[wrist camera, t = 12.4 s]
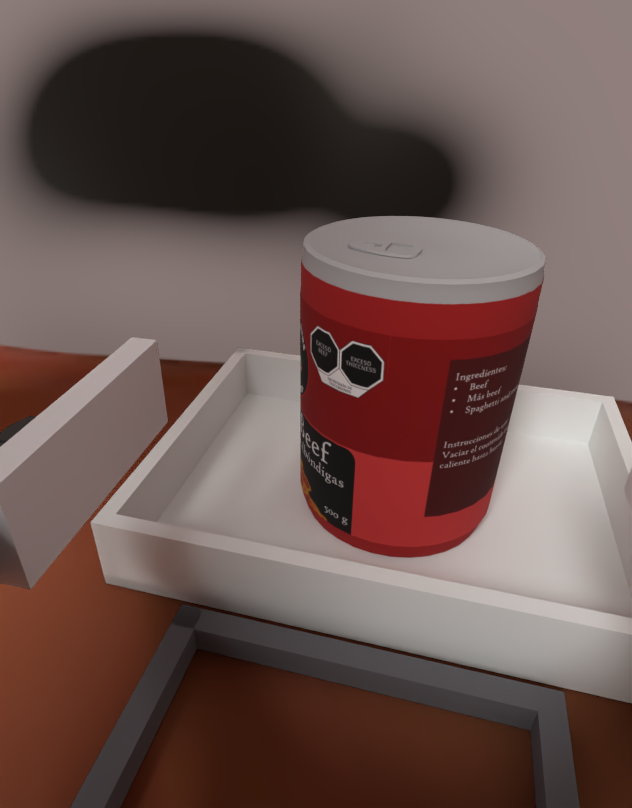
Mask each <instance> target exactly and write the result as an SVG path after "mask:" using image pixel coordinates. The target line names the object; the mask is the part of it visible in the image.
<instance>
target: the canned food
mask: <svg viewBox="0 0 632 808" xmlns="http://www.w3.org/2000/svg"><path fill="white" fill-rule="evenodd" d="M545 261H546V258H545V255H544V253H543V252H542V251H541V250H540V249H539V248H538V247H537V246H536V245H534V244H532V243H530V242H529V241H527V240H525V239H523V238H522V237H519V236H517V235H514V234H511V233H509V232H506V231H503V230H499V229H496V228H492V227H488V226H483V225H479V224H475V223H469V222H463V221H457V220H448V219H441V218H429V217H412V216H379V217H363V218H356V219H348V220H343V221H338V222H334V223H331V224H328V225H325V226H322V227H319V228H317V229H315V230H313V231H312V232H310V233H309V234H308V235H307V236H306V237H305V238H304V243H303V254H302V260H301V292H300V301H301V302H300V303H301V304H300V309H301V310H300V314H301V315H300V317H301V319H300V338H301V339H300V341H301V342H300V345H301V348H300V349H301V351H300V482H301V486H302V490H303V494H304V496H305V499H306V502H307V504H308V507H309V509H310V510H311V512H312V514H313V516H314V518H315V519H316V520H317V521H318V522H319V523H320V524H321V525H322V527H323V528H324V529H325V530H327V531H328V532H329V533H331V534H332V535H333V536H335V537H336V538H337V539H339V540H341V541H343V542H345V543H347V544H349V545H351V546H353V547H356V548H359V549H361V550H364V551H367V552H370V553H374V554H380V555H385V556H390V557H407V558H411V557H422V556H430V555H434V554H438V553H441V552H445V551H447V550H449V549H451V548H454V547H456V546H458V545H460V544H461V543H462V542H463V541H465V540H466V539H467V538H468V537H470V535H471V534H472V533H473V531H474V530H475V529H476V527H477V526H478V525H479V523H480V522H481V520H482V519H483V518H484V516H485V515H486V513H487V510H488V507H489V503H490V499H491V495H492V491H493V487H494V483H495V479H496V475H497V471H498V467H499V463H500V459H501V455H502V451H503V446H504V442H505V438H506V434H507V430H508V426H509V422H510V418H511V414H512V410H513V406H514V402H515V398H516V393H517V389H518V385H519V381H520V377H521V373H522V369H523V365H524V361H525V357H526V352H527V349H528V344H529V340H530V336H531V332H532V328H533V323H534V320H535V316H536V312H537V307H538V300H539V296H540V292H541V288H542V284H543V279H544V265H545Z"/></svg>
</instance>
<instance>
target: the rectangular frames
mask: <svg viewBox="0 0 632 808" xmlns="http://www.w3.org/2000/svg"><path fill="white" fill-rule="evenodd" d="M196 649H200V650H204V651H208V652H212V653H216V654H220V655H225V656H229V657H233V658H237V659H241V660H245V661H249V662H253V663H257V664H261V665H265V666H269V667H273V668H277V669H282V670H286V671H290V672H294V673H298V674H302V675H306V676H310V677H314V678H318V679H322V680H326V681H330V682H334V683H339V684H343V685H347V686H351V687H355V688H359V689H363V690H367V691H371V692H375V693H379V694H383V695H387V696H391V697H396V698H400V699H404V700H408V701H412V702H416V703H420V704H424V705H428V706H432V707H436V708H440V709H444V710H448V711H453V712H457V713H461V714H465V715H469V716H473V717H477V718H481V719H485V720H489V721H493V722H497V723H501V724H505V725H510V726H514V727H518V728H522V729H526V730H530V734H531V748H532V761H533V774H534V787H535V800H536V808H580V805H579V798H578V790H577V783H576V775H575V768H574V761H573V753H572V746H571V738H570V731H569V723H568V716H567V708H566V701H565V694H564V692H562V691H558V690H554V689H549V688H545V687H541V686H536V685H532V684H528V683H523V682H519V681H515V680H510V679H506V678H502V677H497V676H493V675H489V674H484V673H480V672H476V671H471V670H467V669H463V668H458V667H454V666H450V665H445V664H441V663H437V662H432V661H428V660H424V659H419V658H415V657H411V656H406V655H402V654H397V653H393V652H389V651H384V650H380V649H376V648H371V647H367V646H363V645H358V644H354V643H350V642H345V641H341V640H337V639H332V638H328V637H324V636H319V635H315V634H311V633H306V632H302V631H298V630H293V629H289V628H285V627H280V626H276V625H272V624H267V623H263V622H259V621H254V620H250V619H246V618H241V617H237V616H232V615H228V614H224V613H219V612H215V611H211V610H206V609H202V608H198V607H193V606H189V605H185V604H182V605H181V606H180V608H179V610H178V612H177V614H176V616H175V617H174V619H173V621H172V623H171V625H170V626H169V628H168V630H167V632H166V634H165V636H164V637H163V639H162V641H161V643H160V645H159V647H158V648H157V650H156V652H155V654H154V656H153V657H152V659H151V661H150V663H149V665H148V667H147V668H146V670H145V672H144V674H143V676H142V677H141V679H140V681H139V683H138V685H137V687H136V688H135V690H134V692H133V694H132V696H131V697H130V699H129V701H128V703H127V705H126V707H125V708H124V710H123V712H122V714H121V716H120V717H119V719H118V721H117V723H116V725H115V727H114V728H113V730H112V732H111V734H110V736H109V738H108V739H107V741H106V743H105V745H104V747H103V748H102V750H101V752H100V754H99V756H98V758H97V759H96V761H95V763H94V765H93V767H92V768H91V770H90V772H89V774H88V776H87V778H86V779H85V781H84V783H83V785H82V787H81V788H80V790H79V792H78V794H77V796H76V798H75V799H74V801H73V803H72V805H71V807H70V808H120V807H121V805H122V803H123V801H124V799H125V797H126V795H127V793H128V791H129V789H130V786H131V784H132V782H133V780H134V778H135V776H136V774H137V772H138V770H139V768H140V766H141V764H142V762H143V759H144V757H145V755H146V753H147V751H148V749H149V747H150V745H151V743H152V741H153V739H154V737H155V735H156V732H157V730H158V728H159V726H160V724H161V722H162V720H163V718H164V716H165V714H166V712H167V710H168V708H169V705H170V703H171V701H172V699H173V697H174V695H175V693H176V691H177V689H178V687H179V685H180V683H181V681H182V679H183V676H184V674H185V672H186V670H187V668H188V666H189V664H190V662H191V660H192V658H193V656H194V654H195V652H196Z"/></svg>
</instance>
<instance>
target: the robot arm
mask: <svg viewBox="0 0 632 808" xmlns="http://www.w3.org/2000/svg"><path fill="white" fill-rule="evenodd" d="M167 422H168V418H167V410H166V403H165V396H164V388H163V381H162V374H161V367H160V359H159V352H158V345H157V340H151V339H142V338H134V337H132V338H130V339H129V340H128V341H127V342H126V343H124V344H123V345H122V346H121V347H120V348H118V349H117V350H116V351H115V352H114V353H112V354H111V355H110V356H109V357H108V358H106V359H105V360H104V361H103V362H102V363H100V364H99V365H98V366H97V367H96V368H94V369H93V370H92V371H91V372H90V373H88V374H87V375H86V376H85V377H84V378H82V379H81V380H80V381H79V382H78V383H76V384H75V385H74V386H73V387H72V388H70V389H69V390H68V391H67V392H66V393H64V394H63V395H62V396H61V397H60V398H58V399H57V400H56V401H55V402H54V403H52V404H51V405H50V406H49V407H48V408H46V409H45V410H44V411H43V412H42V413H40V414H39V415H38V416H37V417H33V416H29V417H27V418H25V419H23V420H21V421H19V422H16V423H14V424H12V425H10V426H8V427H7V428H6V429H5V430H3V431H2V432H1V433H0V583H2V584H7V585H11V586H16V587H21V588H25V589H30V590H31V589H32V587H33V586H34V585H35V584H36V583H37V581H38V580H39V579H40V578H41V576H42V575H43V574H44V573H45V572H46V570H47V569H48V568H49V567H50V565H51V564H52V563H53V562H54V561H55V559H56V558H57V557H58V556H59V554H60V553H61V552H62V551H63V550H64V548H65V547H66V546H67V545H68V543H69V542H70V541H71V540H72V539H73V537H74V536H75V535H76V534H77V532H78V531H79V530H80V529H81V528H82V526H83V525H84V524H85V523H86V521H87V520H88V519H89V518H90V517H91V515H92V514H93V513H94V512H95V510H96V509H97V508H98V507H99V506H100V504H101V503H102V502H103V501H104V499H105V498H106V497H107V496H108V495H109V493H110V492H111V491H112V490H113V488H114V487H115V486H116V485H117V483H118V482H119V481H120V480H121V479H122V477H123V476H124V475H125V474H126V472H127V471H128V470H129V469H130V468H131V466H132V465H133V464H134V463H135V461H136V460H137V459H138V458H139V457H140V455H141V454H142V453H143V452H144V450H145V449H146V448H147V447H148V446H149V444H150V443H151V442H152V441H153V439H154V438H155V437H156V436H157V435H158V433H159V432H160V431H161V430H162V428H163V427H164V426H165V425H166V424H167ZM624 491H625V494H626V497H627V499H628V502H629V505H630V507H631V510H632V468H631V471H630V473H629V476H628V478H627V481H626V484H625V486H624Z"/></svg>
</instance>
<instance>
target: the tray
mask: <svg viewBox="0 0 632 808" xmlns="http://www.w3.org/2000/svg"><path fill="white" fill-rule="evenodd" d="M631 468H632V442H631V440H630V437H629V435H628V432H627V430H626V427H625V425H624V422H623V420H622V417H621V415H620V412H619V410H618V407H617V405H616V402H615V400H614V397H610V396H602V395H594V394H587V393H579V392H572V391H563V390H557V389H549V388H541V387H534V386H526V385H518V389H517V393H516V398H515V402H514V406H513V410H512V414H511V418H510V422H509V426H508V430H507V434H506V438H505V442H504V446H503V451H502V455H501V459H500V463H499V467H498V471H497V475H496V479H495V483H494V487H493V491H492V495H491V499H490V503H489V507H488V510H487V513H486V515H485V516H484V518H483V519H482V520H481V522H480V523H479V525H478V526H477V527H476V529H475V530H474V531H473V533H472V534H471V535H470V537H468V538H467V539H466V540H465V541H463V542H462V543H461V544H460V545H458V546H456V547H454V548H451V549H449V550H447V551H445V552H441V553H438V554H434V555H430V556H422V557H411V558H407V557H390V556H385V555H380V554H374V553H370V552H367V551H364V550H361V549H359V548H356V547H353V546H351V545H349V544H347V543H345V542H343V541H341V540H339V539H337V538H336V537H335V536H333V535H332V534H331V533H329V532H328V531H327V530H325V529H324V528H323V527H322V525H321V524H320V523H319V522H318V521H317V520H316V519H315V518H314V516H313V514H312V512H311V510H310V509H309V507H308V504H307V502H306V499H305V496H304V494H303V490H302V486H301V482H300V355H291V354H285V353H277V352H269V351H262V350H254V349H247V348H238V349H237V350H236V351H235V352H234V353H233V354H232V356H231V357H230V358H229V359H228V360H227V362H226V363H225V364H224V365H223V366H222V367H221V369H220V370H219V371H218V372H217V373H216V375H215V376H214V377H213V378H212V379H211V380H210V382H209V383H208V384H207V385H206V386H205V388H204V389H203V390H202V391H201V392H200V393H199V395H198V396H197V397H196V398H195V399H194V401H193V402H192V403H191V404H190V405H189V406H188V408H187V409H186V410H185V411H184V412H183V414H182V415H181V416H180V417H179V418H178V420H177V421H176V422H175V423H174V424H173V425H172V427H171V428H170V429H169V430H168V431H167V433H166V434H165V435H164V436H163V437H162V438H161V440H160V441H159V442H158V443H157V444H156V446H155V447H154V448H153V449H152V450H151V451H150V453H149V454H148V455H147V456H146V457H145V459H144V460H143V461H142V462H141V463H140V464H139V466H138V467H137V468H136V469H135V470H134V472H133V473H132V474H131V475H130V476H129V477H128V479H127V480H126V481H125V482H124V483H123V485H122V486H121V487H120V488H119V489H118V491H117V492H116V493H115V494H114V495H113V496H112V498H111V499H110V500H109V501H108V502H107V504H106V505H105V506H104V507H103V508H102V509H101V511H100V512H99V513H98V514H97V515H96V517H95V518H94V519H93V520H92V521H91V522H90V523H91V527H92V531H93V535H94V539H95V543H96V547H97V551H98V555H99V559H100V563H101V567H102V571H103V574H104V578H105V582H106V583H108V584H112V585H116V586H121V587H125V588H129V589H134V590H138V591H143V592H147V593H151V594H156V595H160V596H164V597H169V598H173V599H177V600H182V601H186V602H191V603H195V604H199V605H204V606H208V607H212V608H217V609H221V610H226V611H230V612H234V613H239V614H243V615H247V616H252V617H256V618H260V619H265V620H269V621H274V622H278V623H282V624H287V625H291V626H295V627H300V628H304V629H308V630H313V631H317V632H322V633H326V634H330V635H335V636H339V637H343V638H348V639H352V640H356V641H361V642H365V643H370V644H374V645H378V646H383V647H387V648H391V649H396V650H400V651H405V652H409V653H413V654H418V655H422V656H426V657H431V658H435V659H439V660H444V661H448V662H453V663H457V664H461V665H466V666H470V667H474V668H479V669H483V670H487V671H492V672H496V673H501V674H505V675H509V676H514V677H518V678H522V679H527V680H531V681H535V682H540V683H544V684H549V685H553V686H557V687H562V688H566V689H570V690H575V691H579V692H583V693H588V694H592V695H597V696H601V697H605V698H610V699H614V700H618V701H623V702H627V703H632V510H631V507H630V505H629V502H628V499H627V497H626V494H625V491H624V486H625V484H626V481H627V478H628V476H629V473H630V471H631Z"/></svg>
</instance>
